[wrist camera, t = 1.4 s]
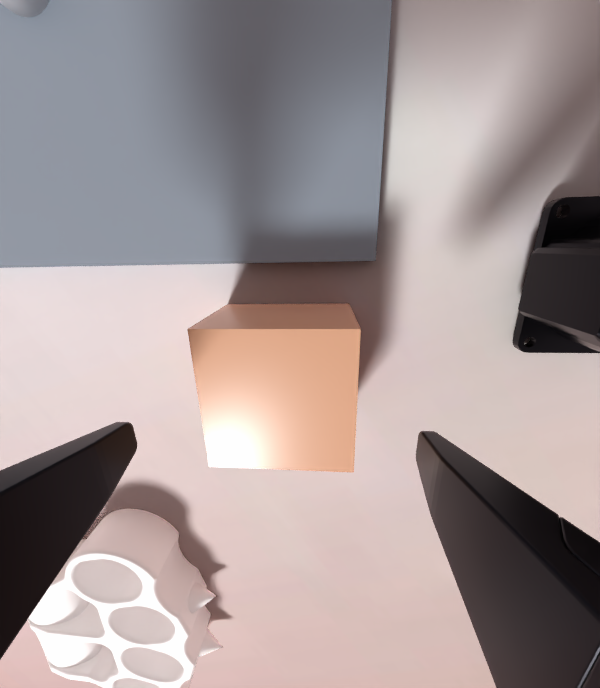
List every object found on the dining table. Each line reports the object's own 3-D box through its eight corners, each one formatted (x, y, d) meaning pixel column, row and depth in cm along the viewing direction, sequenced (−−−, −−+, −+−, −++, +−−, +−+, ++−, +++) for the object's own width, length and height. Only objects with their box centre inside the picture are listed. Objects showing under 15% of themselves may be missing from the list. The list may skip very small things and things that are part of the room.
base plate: (408, -346, 8) (481, -846, 4) (372, 259, 13) (391, 265, 9) (-215, -235, 9) (-546, -531, 6) (-25, 267, 15) (-138, 274, 11)
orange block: (349, 303, 14) (360, 329, 10) (345, 411, 16) (353, 472, 11) (227, 304, 14) (187, 328, 10) (238, 408, 16) (208, 466, 12)
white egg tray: (18, 494, 20) (217, 509, 19) (79, 644, 26) (234, 662, 25) (-38, 540, 17) (197, 561, 16) (45, 699, 23) (221, 722, 22)
